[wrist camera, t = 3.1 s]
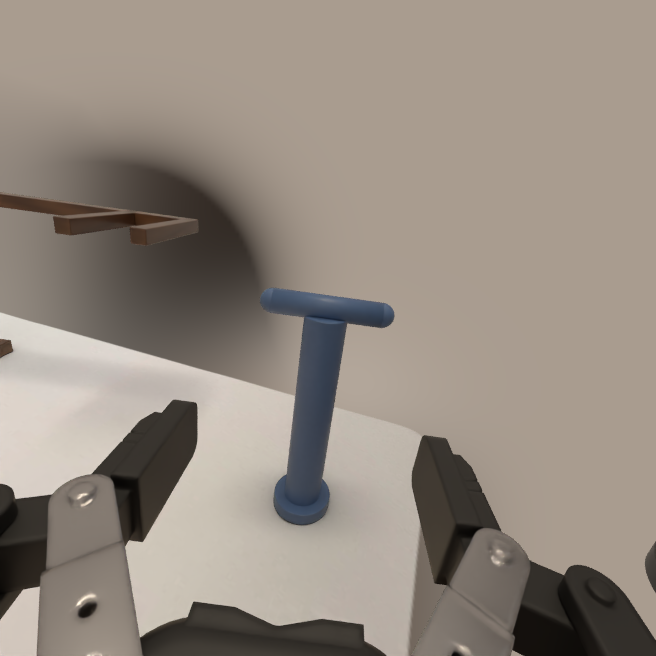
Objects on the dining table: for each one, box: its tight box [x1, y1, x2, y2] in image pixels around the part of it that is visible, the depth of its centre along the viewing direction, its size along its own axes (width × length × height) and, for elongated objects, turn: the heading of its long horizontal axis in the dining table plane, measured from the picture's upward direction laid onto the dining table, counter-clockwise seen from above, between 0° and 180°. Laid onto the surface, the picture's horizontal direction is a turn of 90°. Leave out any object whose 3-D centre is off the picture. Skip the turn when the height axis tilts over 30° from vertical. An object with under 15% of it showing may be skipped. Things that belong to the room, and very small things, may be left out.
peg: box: [260, 288, 394, 525], centre depth 25 cm, size 4×9×17 cm, turn 87°
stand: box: [0, 192, 198, 357], centre depth 34 cm, size 36×12×20 cm, turn 87°
